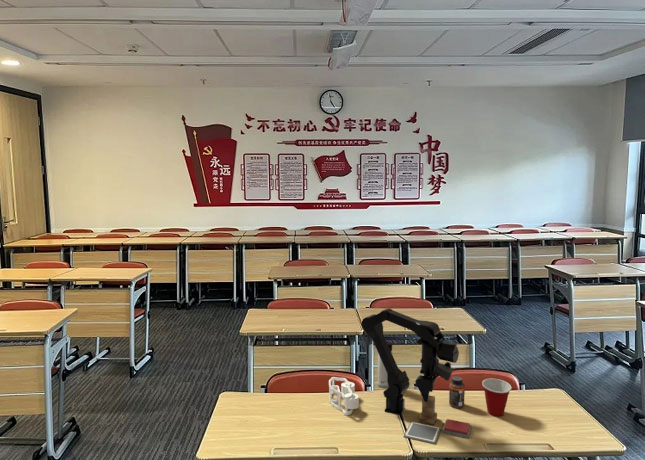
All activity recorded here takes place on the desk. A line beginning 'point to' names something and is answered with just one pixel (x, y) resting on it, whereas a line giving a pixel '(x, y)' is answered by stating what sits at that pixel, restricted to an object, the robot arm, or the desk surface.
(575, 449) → the desk surface
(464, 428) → the ink pad
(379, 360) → the travel mug
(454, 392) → the supplement bottle
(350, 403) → the white open frame block
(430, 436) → the marked board
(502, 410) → the plastic cup
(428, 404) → the stamp
